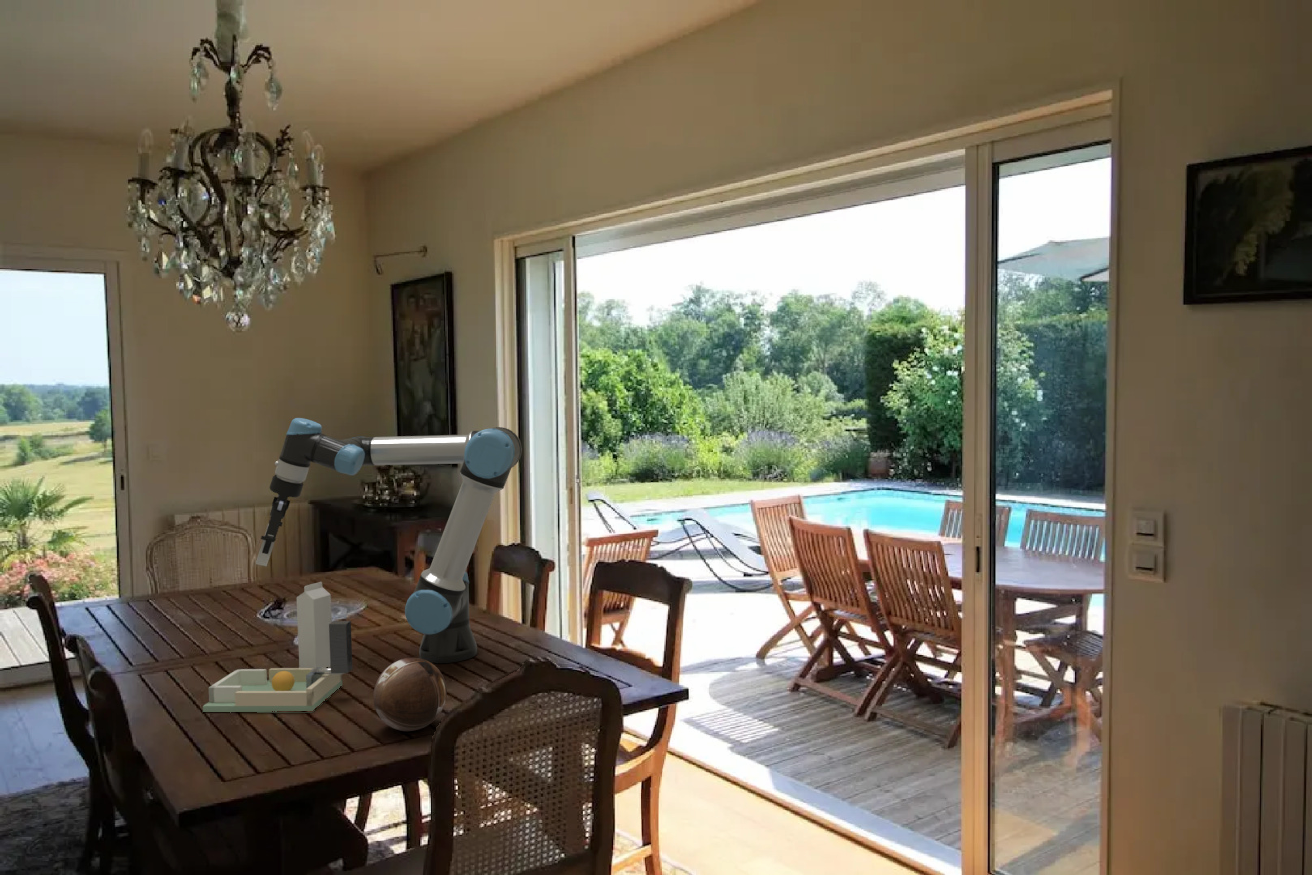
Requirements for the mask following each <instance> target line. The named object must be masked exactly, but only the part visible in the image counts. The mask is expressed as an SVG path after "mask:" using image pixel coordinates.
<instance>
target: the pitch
mask: <svg viewBox="0 0 1312 875" xmlns="http://www.w3.org/2000/svg"><path fill="white" fill-rule="evenodd" d="M311 669H313V668H299V667H270V668H269V669H268V670H267V668H264V669H263V668H249V669H248V668H244V669H243V668H238V669H235V670H233V672H231V673H229V674H227V675H226V676H224V677H223V678H221V679H220V680H218V681H216V682H215V683H213V684H212V685H210V686H209V687H208V702H207V703H204V705H203V706H202V713H203V712H230V714H231V712H257V713H278V712H277V711H313V710H314V709H315V708H316V707H317V706H319V705H320V704H321V703H322V702H323V701H325V699H326V698H328V697H329V696H330V695H331V694H332V693H334V692H335V691H336V690H337V689H338V690H340V689H341V688H340V686H342V687H343V674H322V677H321V678H319V679H318V680H317V681H316V682H314V683H313V684H312V685H311V686H309V687H308V688H306V675H307V674H309V673H310V672H311ZM267 671H268V672H267ZM281 671H287V672H290V673H291V674H292V675H293V677H294V680H295V682H294V686H293V687H292V689H291V690H290V691H275V690H274V689H273V687H272V679H273V677H274V676H275V674H277V673H278V672H281ZM339 688H340V689H339ZM338 690H337V691H338ZM337 691H336V692H337ZM336 692H335V693H336ZM335 693H334V694H335ZM330 697H331V696H330ZM330 697H329V698H330ZM329 698H328V699H329ZM325 702H326V701H325ZM322 704H323V703H322ZM322 704H321V705H322ZM321 705H320V706H321ZM320 706H319V707H320ZM272 711H273V712H272ZM274 711H275V712H274ZM314 711H315V710H314ZM314 711H313V712H314Z"/></svg>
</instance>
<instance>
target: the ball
mask: <svg viewBox="0 0 1312 875" xmlns="http://www.w3.org/2000/svg"><path fill="white" fill-rule="evenodd" d="M294 682H295V680H294V677H293V675H292V674H291V673H290V672H287V671H281V672H278V673H277V674H275V676H274V677H273V679H272V687H273V689H274V690H275V691H290V690H291V689H292V687H293V686H294Z"/></svg>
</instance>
